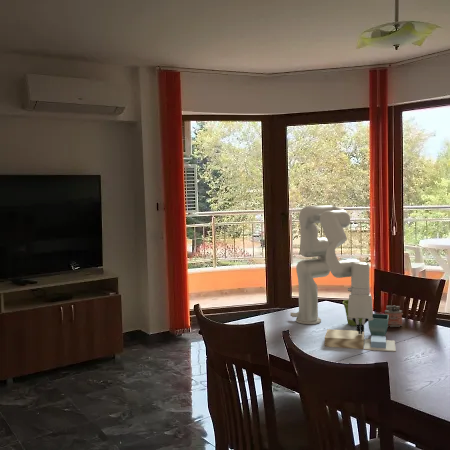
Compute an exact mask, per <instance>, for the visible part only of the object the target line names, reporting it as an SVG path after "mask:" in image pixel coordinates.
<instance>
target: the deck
mask: <svg viewBox="0 0 450 450" xmlns="http://www.w3.org/2000/svg"><path fill="white" fill-rule="evenodd" d="M364 344H365V331H364V332H362V334H361V330H360V334H358V331H357V330H351V329H349V330H348V329H330V328H329V329H328V328H327V330H326V332H325V335H324V347H326V348H337V349H338V348H339V349H340V348H342V349H356V350H357V349H358V350H364Z"/></svg>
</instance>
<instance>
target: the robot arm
mask: <svg viewBox="0 0 450 450" xmlns="http://www.w3.org/2000/svg"><path fill="white" fill-rule="evenodd" d="M298 221H299V228H300V242H299V248H300V249H299V251H300V255H301V256H302V257H305V258H308V259H303V260H300V261H298V262H297V264H296V267H295V270H296V275H297V283H298V311H297V312H290V313H289V314H290V317H292V318H295V322H297V323H299V324H302V325H317V324H320V323H322V319H321V318H320V317H319V304H318V303H319V300H318V299H319V297H318V296H319V295H318V284H317V283H316V282H315V279H316V278H323V277H327V276H329V275H330V273H331V274H332V276H333V277H334V278H336V279H337V278H338V279H342V278H350V283H351V285H350V287H348V288H347V291H348V292H350V293H349V295H348V300H349V301H348V319H350V320H353V321H354V322H355V323H356V324H357V325H356V331H358V334H360V331H361V334H362V332H364V333H365V324H367V323H368V321H371V320H373V314H374V309H373V308H374V307H373V299H372V294H371V293H370V264H369V263H368V262H364V261H360V260H358V259H354V258H353V259H342V260H339V259H338V256H337V254H336V249H337V248H338V247H341V246H342V245H343V244H345V243H346V241H347V239H348V238H347V235H346V233H345V232H346V231H344V228H347V227H349V225H350V224H351V216H350V214H349V213H348V212H347V210H345V209H343V208H341V207H338V206H335V205H333V204H332V205H331V204H329V205H309V206H308V205H307V206H304V207H302V208H301V210H300V211H299V214H298ZM316 224H320V226H321V228H322V231H323V233H324V235H325V237H319V230H318V227H317V225H316ZM315 257H317V258H315ZM309 258H310V259H309ZM359 318H362V322H361V326H360V322H359Z"/></svg>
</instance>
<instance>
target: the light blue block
mask: <svg viewBox="0 0 450 450" xmlns="http://www.w3.org/2000/svg"><path fill="white" fill-rule="evenodd" d="M370 335H371V334H370ZM370 337H371V338H370V339H371V347H374V348H386V340H387V337H386V335H385V336H373V335H371V336H370Z"/></svg>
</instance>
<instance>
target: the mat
mask: <svg viewBox="0 0 450 450" xmlns="http://www.w3.org/2000/svg"><path fill="white" fill-rule="evenodd" d="M363 350H366V351H379V352H397V351H396V341H395V340H393V339H392V340H390V339H389V340H388V339H386V348H374V347H371V338H364V349H363Z"/></svg>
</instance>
